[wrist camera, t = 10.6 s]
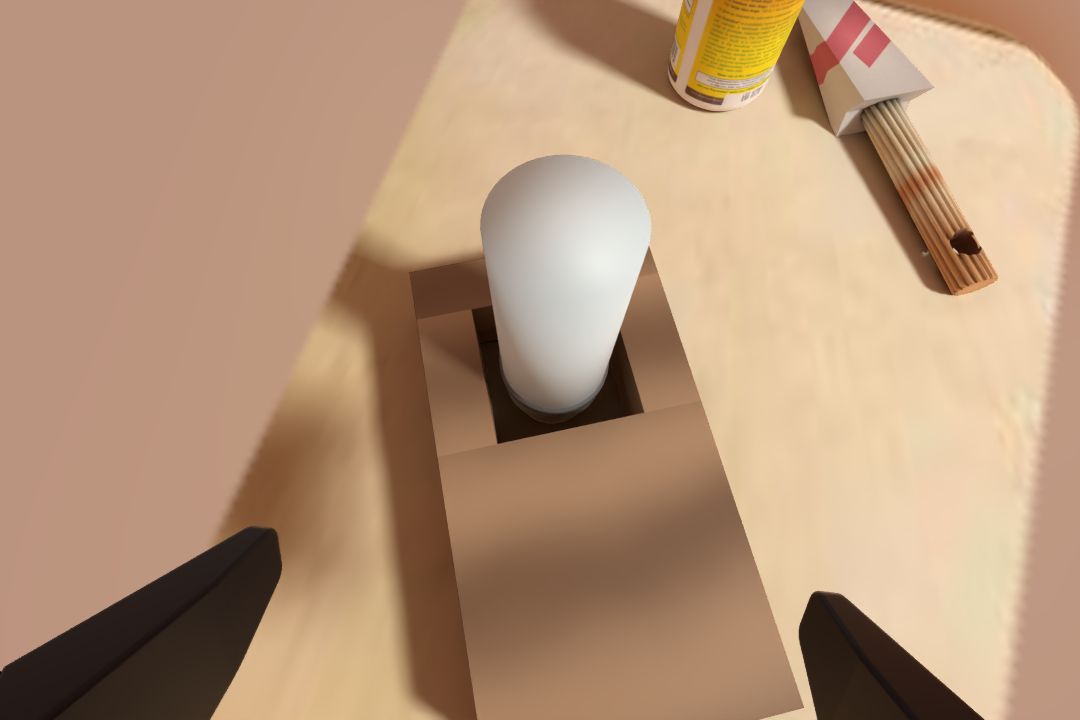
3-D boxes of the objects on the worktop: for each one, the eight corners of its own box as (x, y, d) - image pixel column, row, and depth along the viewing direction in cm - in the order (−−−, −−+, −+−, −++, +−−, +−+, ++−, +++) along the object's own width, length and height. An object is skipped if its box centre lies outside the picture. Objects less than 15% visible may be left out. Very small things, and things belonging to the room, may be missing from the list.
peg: (609, 423, 24) (678, 283, 12) (514, 444, 24) (494, 319, 12) (585, 337, 25) (628, 139, 14) (496, 355, 25) (462, 167, 13)
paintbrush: (857, -49, 31) (1035, 266, 25) (831, -2, 33) (987, 292, 27) (792, -39, 30) (957, 282, 24) (771, 7, 33) (915, 307, 27)
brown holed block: (761, 685, 20) (804, 707, 17) (496, 754, 20) (488, 791, 16) (630, 270, 27) (643, 229, 23) (425, 310, 26) (409, 272, 23)
